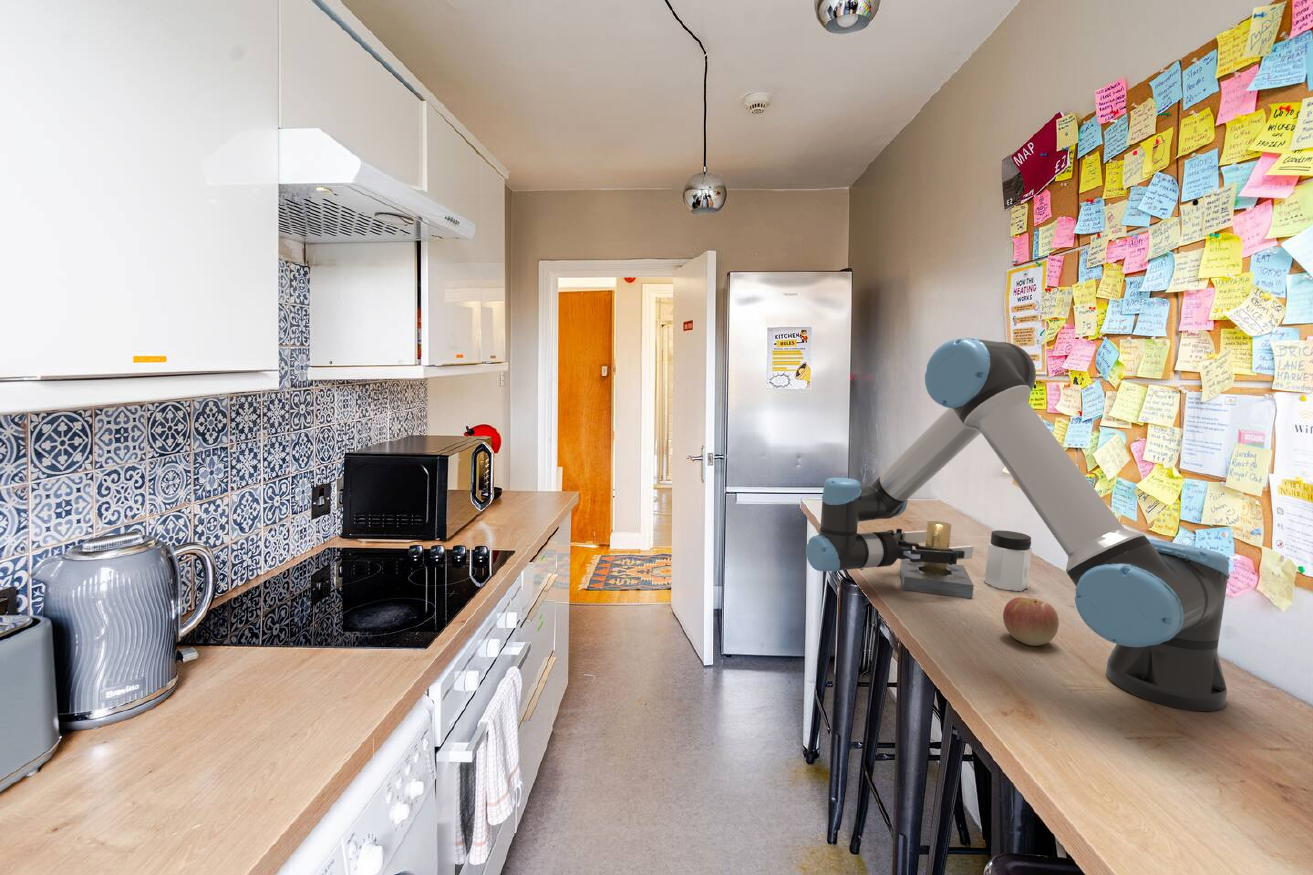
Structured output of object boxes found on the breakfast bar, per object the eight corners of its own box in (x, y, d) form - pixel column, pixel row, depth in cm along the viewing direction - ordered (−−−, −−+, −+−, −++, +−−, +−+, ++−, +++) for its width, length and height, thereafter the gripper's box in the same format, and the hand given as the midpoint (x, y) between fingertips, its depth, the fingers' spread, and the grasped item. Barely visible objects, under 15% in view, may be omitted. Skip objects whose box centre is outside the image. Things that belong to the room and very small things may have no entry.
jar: (1018, 594, 151) (1023, 541, 149) (980, 584, 157) (985, 533, 155) (1031, 586, 157) (1037, 535, 156) (994, 577, 163) (999, 528, 161)
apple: (1023, 652, 118) (1028, 608, 118) (990, 632, 127) (994, 591, 126) (1067, 651, 120) (1072, 607, 119) (1031, 631, 129) (1036, 590, 128)
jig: (972, 598, 146) (973, 585, 146) (903, 589, 150) (904, 576, 150) (962, 577, 161) (963, 565, 161) (899, 569, 165) (900, 557, 165)
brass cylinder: (946, 588, 152) (952, 527, 151) (922, 585, 154) (928, 524, 152) (944, 581, 157) (949, 522, 156) (921, 578, 159) (926, 520, 157)
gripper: (835, 551, 159) (906, 545, 168) (913, 584, 137) (990, 576, 145) (838, 519, 159) (909, 515, 167) (916, 548, 136) (994, 542, 144)
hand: (947, 544), depth 156 cm, fingers open, 13 cm apart
